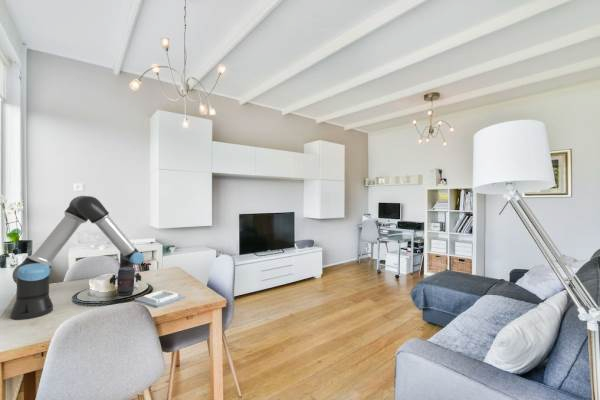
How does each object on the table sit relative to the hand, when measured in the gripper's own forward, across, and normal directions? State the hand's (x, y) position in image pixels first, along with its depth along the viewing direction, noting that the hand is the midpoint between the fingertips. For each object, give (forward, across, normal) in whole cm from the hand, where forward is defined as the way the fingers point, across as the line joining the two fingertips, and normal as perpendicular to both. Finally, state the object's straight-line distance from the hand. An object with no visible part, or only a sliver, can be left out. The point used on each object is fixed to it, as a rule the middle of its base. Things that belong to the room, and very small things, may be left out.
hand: (125, 283), depth 154 cm
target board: (+1, -18, -11) cm, 21 cm away
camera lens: (-5, 0, -8) cm, 9 cm away
